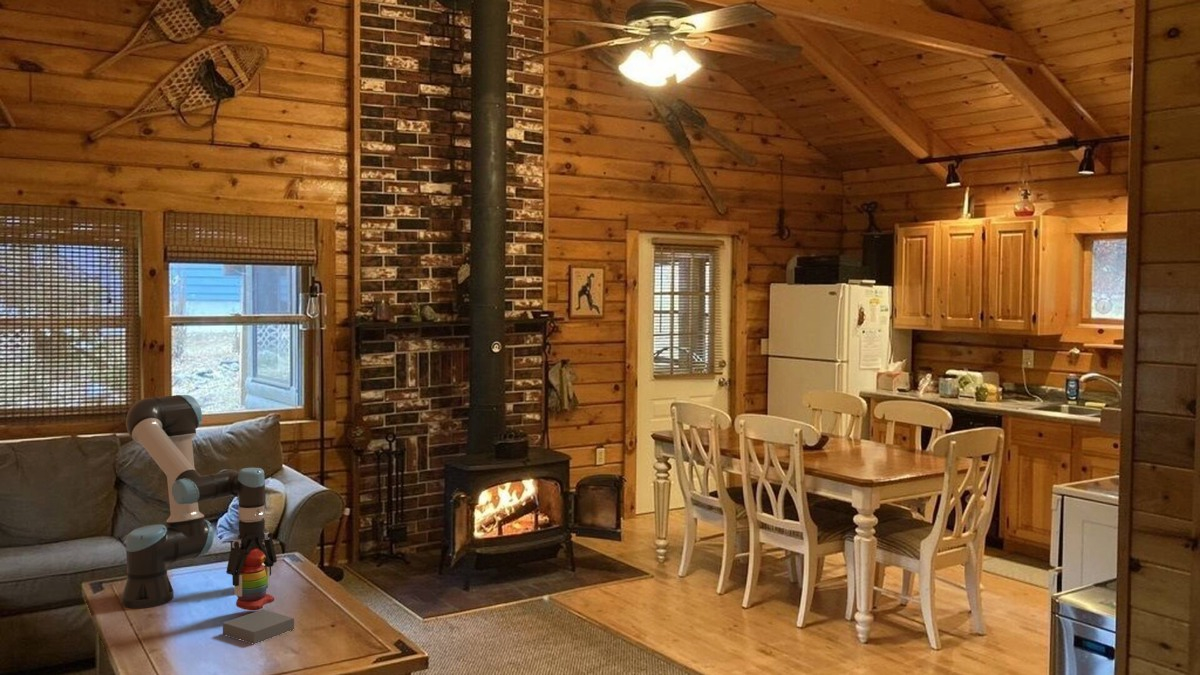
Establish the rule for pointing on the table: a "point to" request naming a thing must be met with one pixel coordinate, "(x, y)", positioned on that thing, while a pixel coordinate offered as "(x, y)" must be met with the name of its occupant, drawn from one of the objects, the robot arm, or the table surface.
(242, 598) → the stacking bear
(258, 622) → the gray block
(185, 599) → the table surface
